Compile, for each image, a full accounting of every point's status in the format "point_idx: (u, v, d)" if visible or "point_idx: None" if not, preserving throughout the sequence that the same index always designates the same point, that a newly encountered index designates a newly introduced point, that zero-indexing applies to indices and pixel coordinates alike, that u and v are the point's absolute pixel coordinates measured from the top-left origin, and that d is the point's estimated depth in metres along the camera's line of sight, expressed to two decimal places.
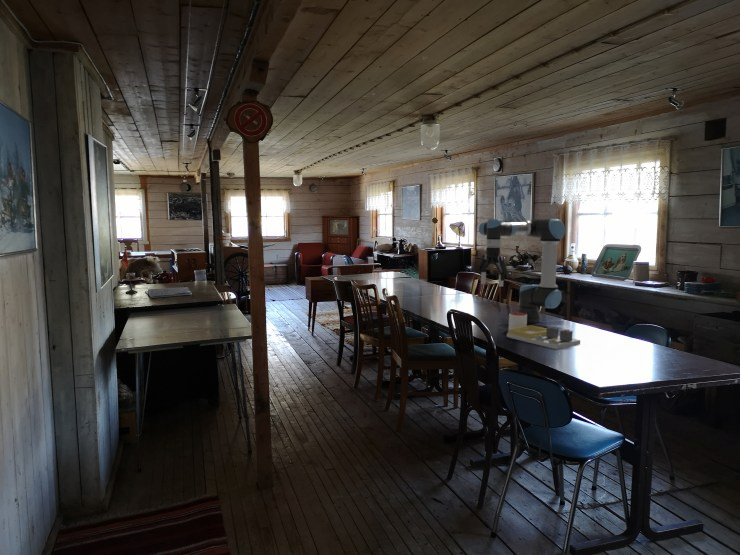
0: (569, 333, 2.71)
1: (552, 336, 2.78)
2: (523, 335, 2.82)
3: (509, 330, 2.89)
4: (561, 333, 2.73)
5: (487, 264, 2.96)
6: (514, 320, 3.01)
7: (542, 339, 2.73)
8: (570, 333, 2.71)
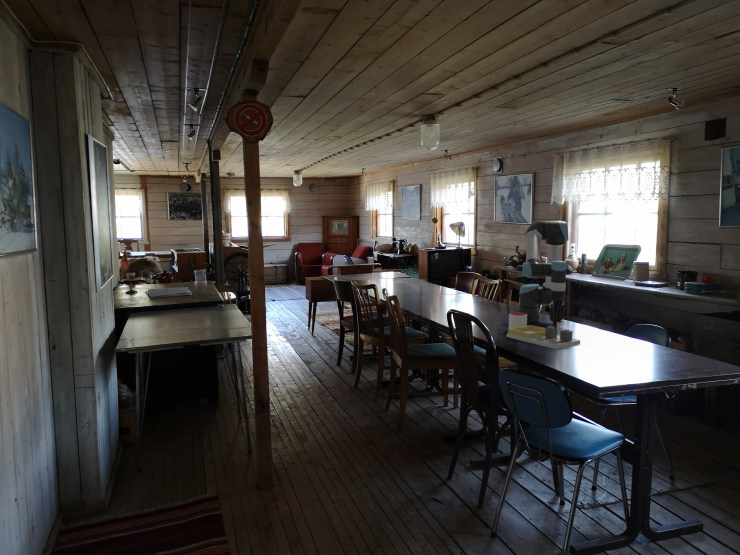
0: (569, 333, 2.71)
1: (551, 336, 2.77)
2: (523, 335, 2.82)
3: (509, 330, 2.89)
4: (561, 333, 2.73)
5: None
6: (514, 320, 3.01)
7: (542, 339, 2.73)
8: (570, 333, 2.71)
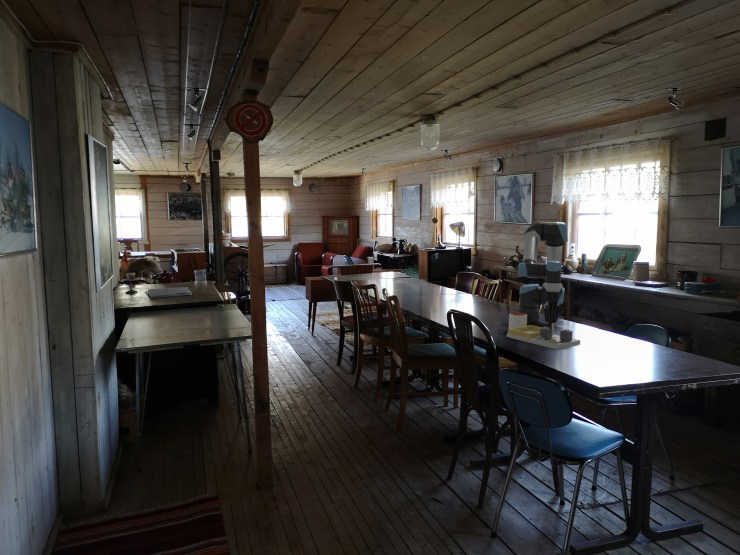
0: (569, 333, 2.71)
1: (546, 337, 2.75)
2: (523, 335, 2.82)
3: (509, 330, 2.89)
4: (561, 333, 2.73)
5: None
6: (514, 320, 3.01)
7: (542, 339, 2.73)
8: (570, 333, 2.71)
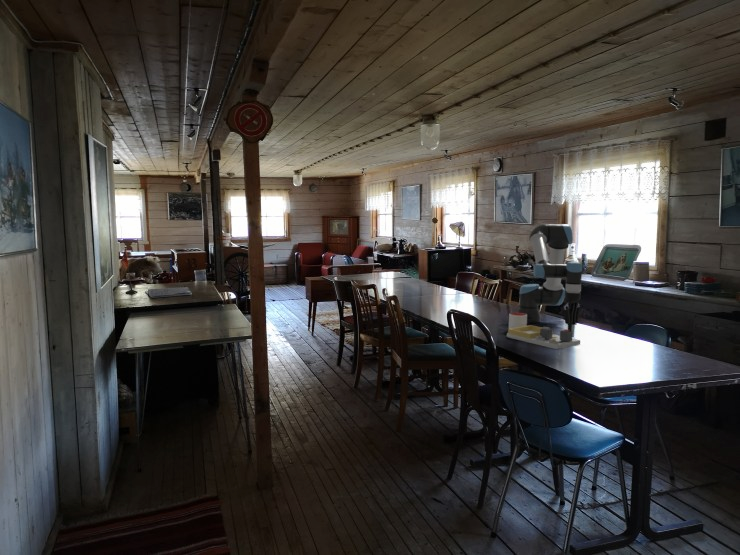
0: (569, 333, 2.71)
1: (546, 337, 2.75)
2: (523, 335, 2.82)
3: (509, 330, 2.89)
4: (561, 333, 2.73)
5: None
6: (514, 320, 3.01)
7: (542, 339, 2.73)
8: (570, 333, 2.71)
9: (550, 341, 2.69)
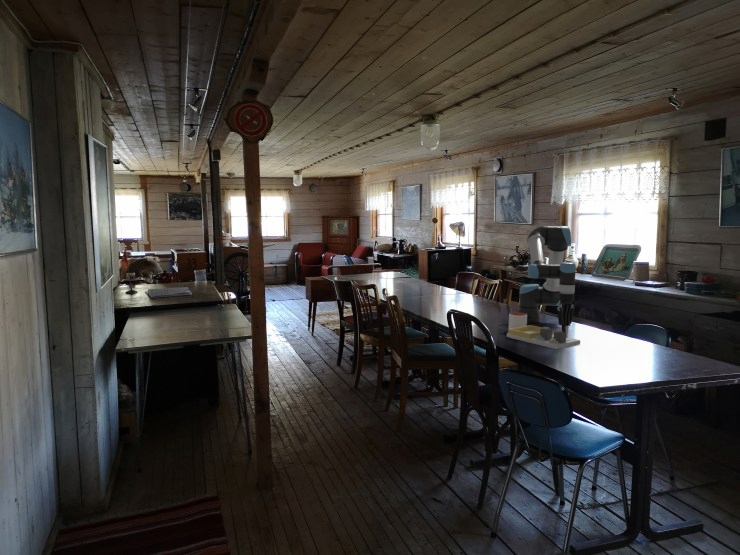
0: (563, 334, 2.68)
1: (546, 337, 2.75)
2: (523, 335, 2.82)
3: (509, 330, 2.89)
4: (554, 334, 2.70)
5: None
6: (514, 320, 3.01)
7: (542, 339, 2.73)
8: (564, 334, 2.68)
9: (550, 341, 2.69)
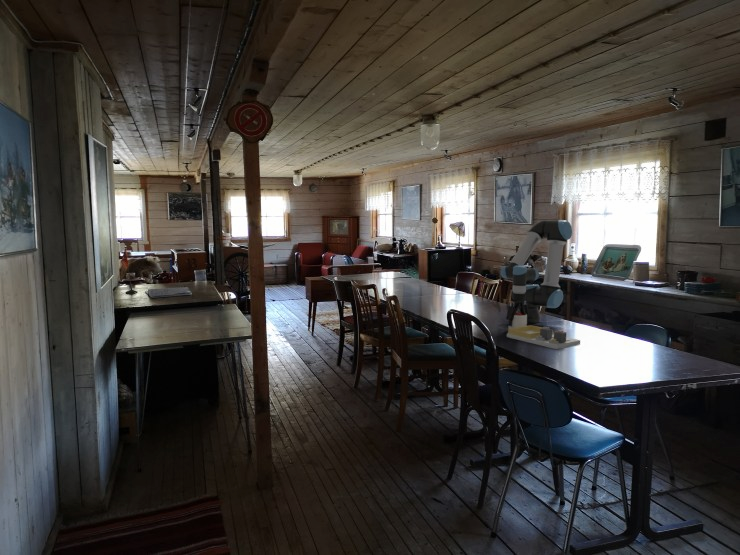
0: (563, 334, 2.68)
1: (546, 337, 2.75)
2: (523, 335, 2.82)
3: (509, 330, 2.89)
4: (554, 334, 2.70)
5: (520, 309, 3.06)
6: (514, 320, 3.01)
7: (542, 339, 2.73)
8: (564, 334, 2.68)
9: (550, 341, 2.69)
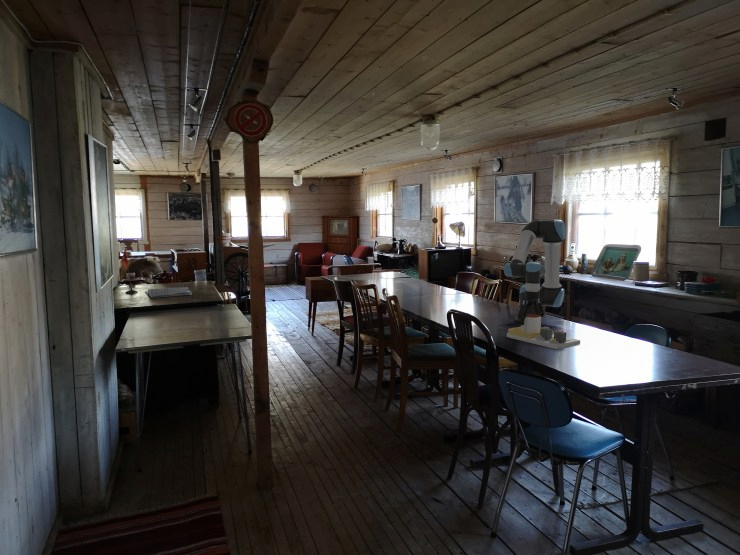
0: (563, 334, 2.68)
1: (546, 337, 2.75)
2: (523, 335, 2.82)
3: (509, 330, 2.89)
4: (554, 334, 2.70)
5: (534, 308, 2.90)
6: (527, 322, 2.85)
7: (542, 339, 2.73)
8: (564, 334, 2.68)
9: (550, 341, 2.69)
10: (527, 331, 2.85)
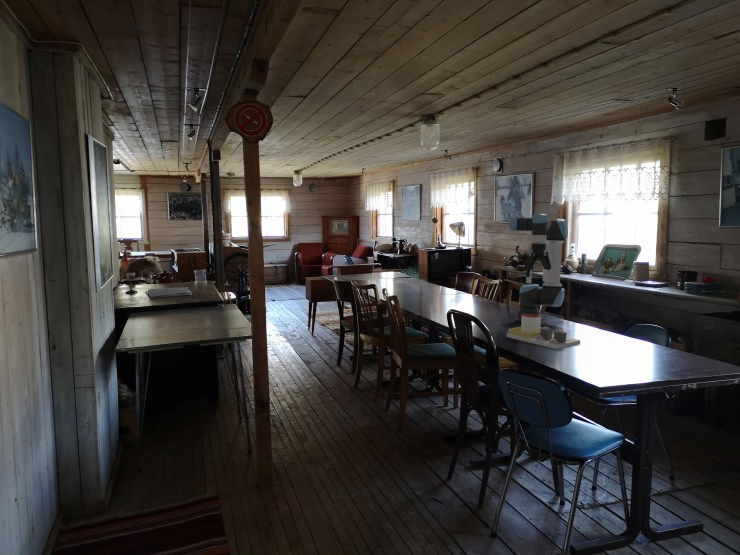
0: (563, 334, 2.68)
1: (546, 337, 2.75)
2: (523, 335, 2.82)
3: (509, 330, 2.89)
4: (554, 334, 2.70)
5: (541, 261, 2.86)
6: (527, 322, 2.85)
7: (542, 339, 2.73)
8: (564, 334, 2.68)
9: (550, 341, 2.69)
10: (527, 331, 2.85)
